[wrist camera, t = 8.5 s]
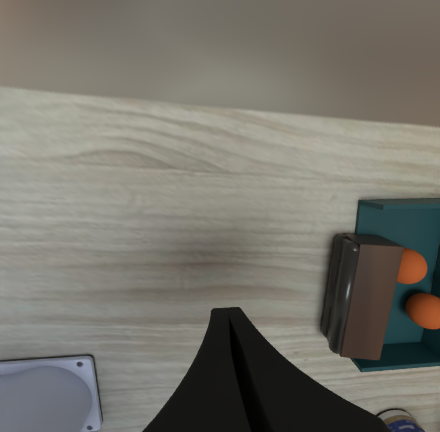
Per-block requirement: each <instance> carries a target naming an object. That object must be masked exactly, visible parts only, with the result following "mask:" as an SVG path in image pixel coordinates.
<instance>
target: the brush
mask: <svg viewBox="0 0 440 432" xmlns="http://www.w3.org/2000/svg"><path fill="white" fill-rule="evenodd" d="M403 250H404V247H403V246H401V245H399V244H397V243H395V242H393V241H391V240H389V239H387V238H384V237H382V236H380V235H363V234H346V233H344V234H343V235H338V236H337V237H336V238H335V242H334V249H333V255H332V262H331V269H330V275H329V282H328V288H327V295H326V302H325V308H324V315H323V322H322V328H321V332H322V334H323V336H325V337H326V338H327V340H328V342H329V348H330V350H331V351H332V352H334V353H336V354H340V356H341V357H349V358H359V359H370V360H380V356H381V352H382V347H383V343H384V338H385V333H386V329H387V324H388V319H389V315H390V310H391V306H392V301H393V296H394V292H395V287H396V282H397V278H398V273H399V269H400V264H401V259H402V255H403Z"/></svg>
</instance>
